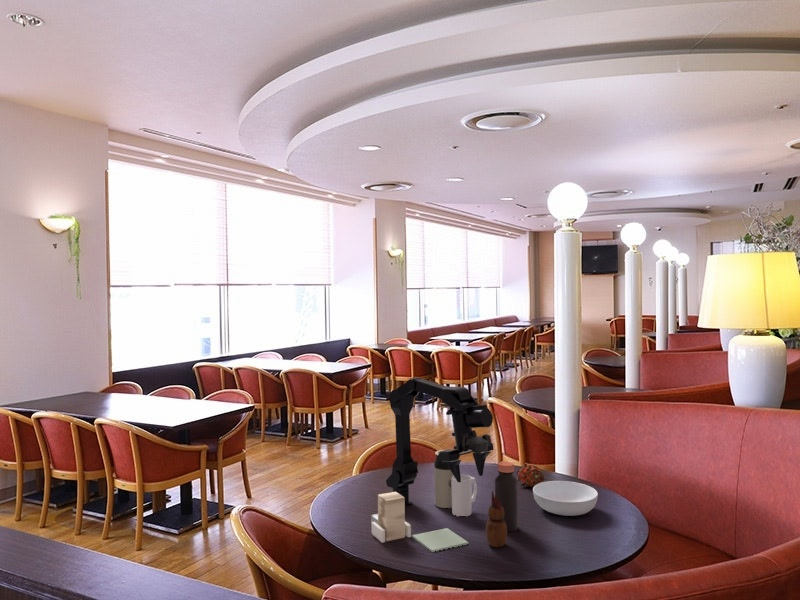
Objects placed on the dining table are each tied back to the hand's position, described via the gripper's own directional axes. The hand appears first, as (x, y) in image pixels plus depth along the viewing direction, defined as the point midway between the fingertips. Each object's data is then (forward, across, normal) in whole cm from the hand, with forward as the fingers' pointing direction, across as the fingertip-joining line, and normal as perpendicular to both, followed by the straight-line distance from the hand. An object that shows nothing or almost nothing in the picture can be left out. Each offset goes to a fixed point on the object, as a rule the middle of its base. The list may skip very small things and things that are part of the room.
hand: (470, 478), depth 193 cm
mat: (+15, -15, 0) cm, 21 cm away
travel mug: (+12, +6, +22) cm, 25 cm away
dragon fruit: (+13, +44, +18) cm, 50 cm away
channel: (+12, -24, +12) cm, 29 cm away
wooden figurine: (+17, -4, -12) cm, 21 cm away
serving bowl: (+18, +34, -6) cm, 38 cm away
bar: (+11, -22, +20) cm, 32 cm away
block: (+12, -24, +12) cm, 29 cm away
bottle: (+16, +8, -5) cm, 19 cm away
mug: (+13, +7, +12) cm, 19 cm away
